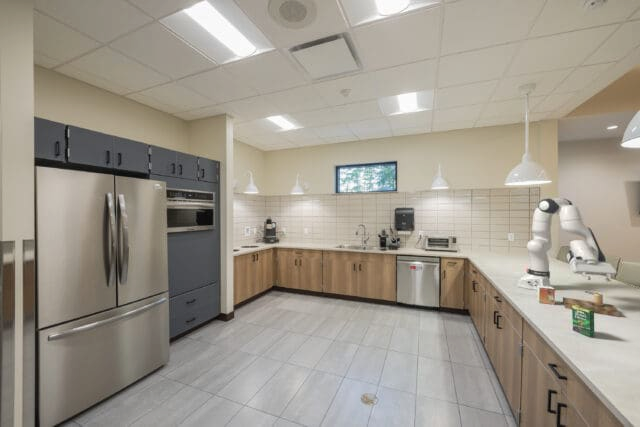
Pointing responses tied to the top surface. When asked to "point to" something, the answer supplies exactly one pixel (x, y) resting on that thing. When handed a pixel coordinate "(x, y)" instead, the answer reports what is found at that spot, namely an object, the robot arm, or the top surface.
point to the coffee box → (583, 320)
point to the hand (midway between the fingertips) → (598, 280)
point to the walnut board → (591, 306)
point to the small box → (546, 295)
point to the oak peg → (598, 300)
